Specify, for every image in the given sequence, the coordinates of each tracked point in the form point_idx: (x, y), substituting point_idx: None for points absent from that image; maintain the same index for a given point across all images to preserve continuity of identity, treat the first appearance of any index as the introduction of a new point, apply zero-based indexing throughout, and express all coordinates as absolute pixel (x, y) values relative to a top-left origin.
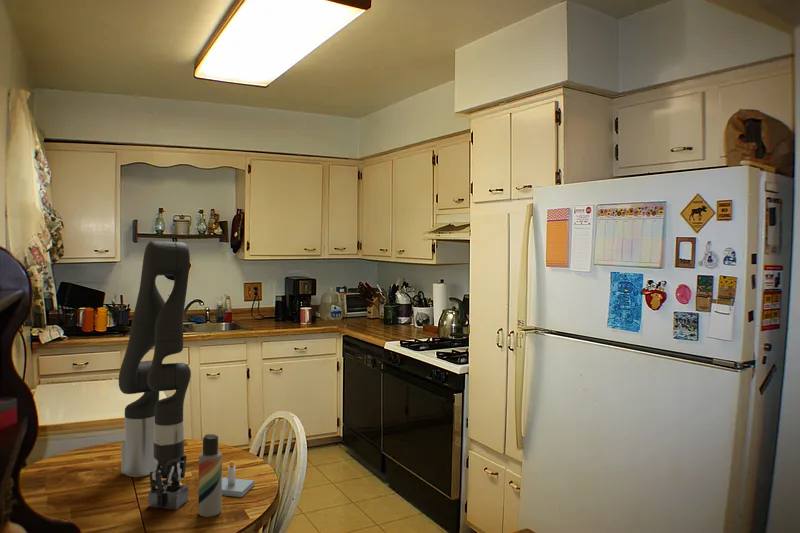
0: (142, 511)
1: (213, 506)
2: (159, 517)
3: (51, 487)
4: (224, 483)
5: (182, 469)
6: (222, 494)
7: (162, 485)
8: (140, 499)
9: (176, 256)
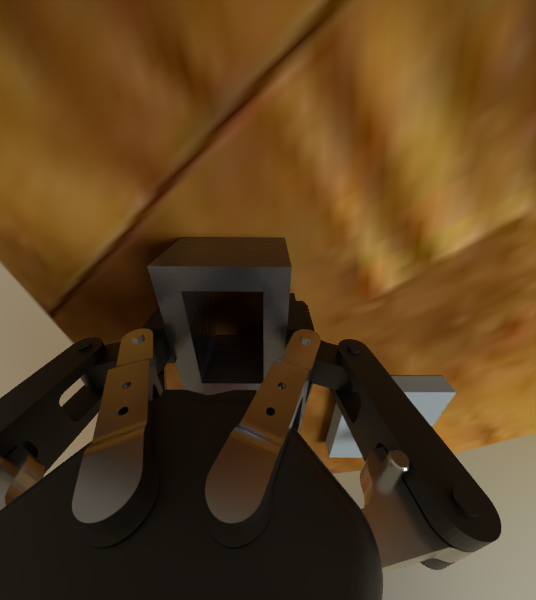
0: (131, 239)
1: None
2: (129, 327)
3: None
4: None
5: (350, 425)
6: (334, 410)
7: (263, 291)
8: (241, 131)
9: None
